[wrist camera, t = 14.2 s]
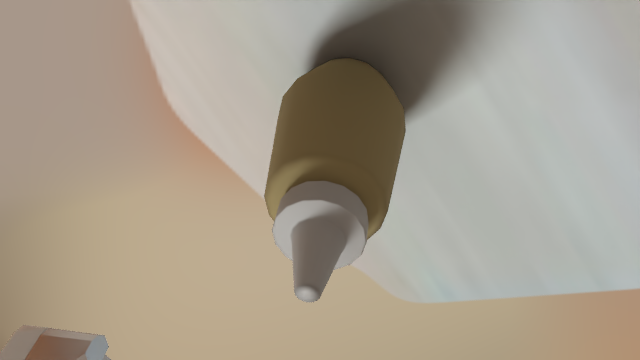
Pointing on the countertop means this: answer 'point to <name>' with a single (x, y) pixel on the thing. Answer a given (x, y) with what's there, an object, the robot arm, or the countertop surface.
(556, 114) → the countertop surface
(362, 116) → the squeeze bottle
